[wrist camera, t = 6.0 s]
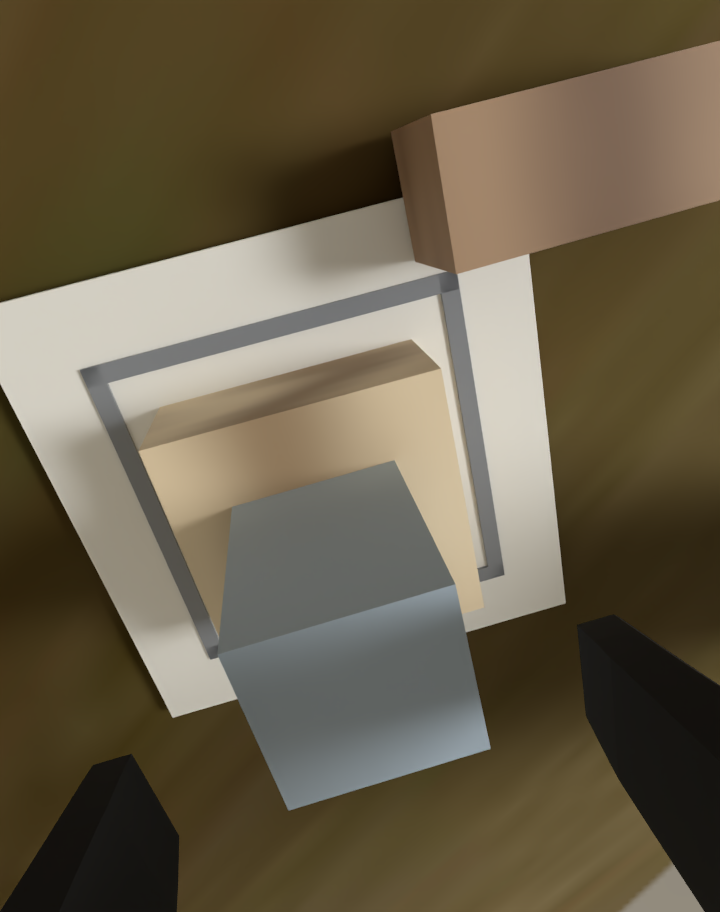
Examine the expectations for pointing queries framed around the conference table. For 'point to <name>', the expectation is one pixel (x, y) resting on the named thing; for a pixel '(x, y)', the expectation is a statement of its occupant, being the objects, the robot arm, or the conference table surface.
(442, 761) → the grey rectangular block
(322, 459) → the maple slab
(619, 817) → the conference table surface
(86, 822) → the robot arm
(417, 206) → the walnut bar
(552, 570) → the white square board
